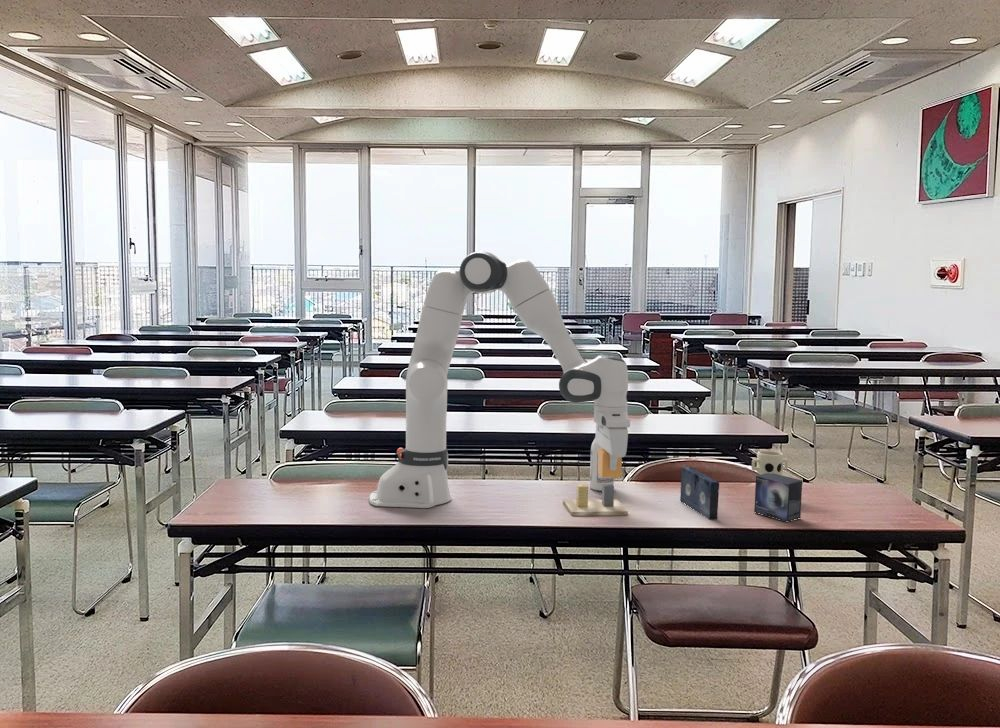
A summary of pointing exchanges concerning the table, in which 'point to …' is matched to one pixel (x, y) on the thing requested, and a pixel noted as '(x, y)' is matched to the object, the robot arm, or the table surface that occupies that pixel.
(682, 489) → the vhs cassette tape
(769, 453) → the character mug
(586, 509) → the birch board
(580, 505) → the brass post
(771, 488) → the small box
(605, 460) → the tall orange prism
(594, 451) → the bath foam
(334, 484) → the table surface
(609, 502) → the steel post
